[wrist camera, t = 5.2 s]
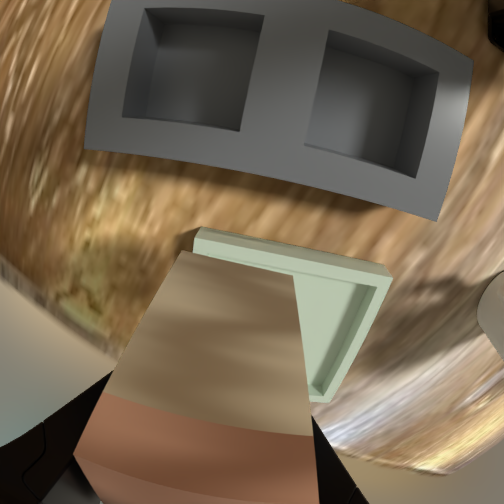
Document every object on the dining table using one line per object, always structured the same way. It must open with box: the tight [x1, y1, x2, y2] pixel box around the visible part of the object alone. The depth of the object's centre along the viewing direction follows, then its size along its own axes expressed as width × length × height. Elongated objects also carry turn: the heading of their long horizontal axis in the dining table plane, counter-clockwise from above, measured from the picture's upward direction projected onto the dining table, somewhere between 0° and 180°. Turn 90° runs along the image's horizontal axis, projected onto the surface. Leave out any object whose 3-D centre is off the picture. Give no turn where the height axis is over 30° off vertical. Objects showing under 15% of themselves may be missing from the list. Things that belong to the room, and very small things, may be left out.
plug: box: [73, 250, 319, 504], centre depth 8 cm, size 4×4×8 cm
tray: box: [193, 227, 393, 403], centre depth 20 cm, size 12×12×2 cm
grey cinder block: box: [84, 0, 474, 222], centre depth 13 cm, size 18×9×4 cm, turn 79°
